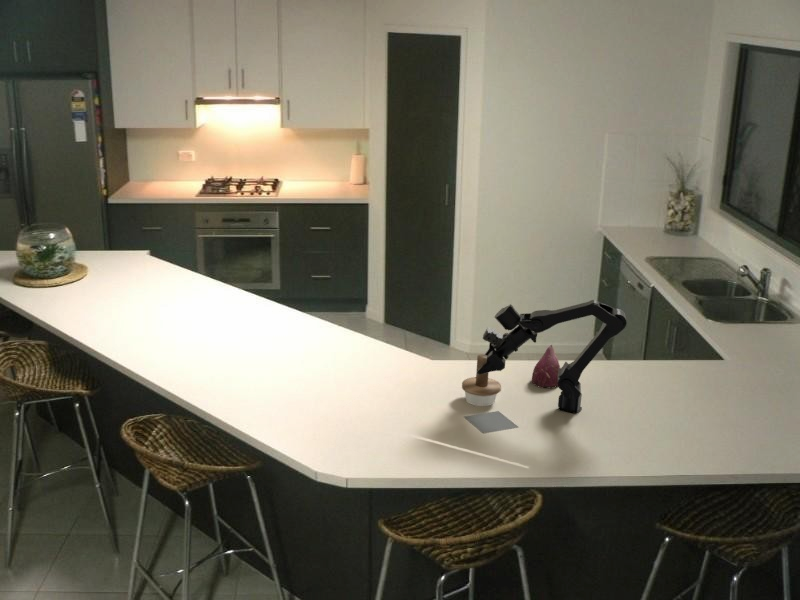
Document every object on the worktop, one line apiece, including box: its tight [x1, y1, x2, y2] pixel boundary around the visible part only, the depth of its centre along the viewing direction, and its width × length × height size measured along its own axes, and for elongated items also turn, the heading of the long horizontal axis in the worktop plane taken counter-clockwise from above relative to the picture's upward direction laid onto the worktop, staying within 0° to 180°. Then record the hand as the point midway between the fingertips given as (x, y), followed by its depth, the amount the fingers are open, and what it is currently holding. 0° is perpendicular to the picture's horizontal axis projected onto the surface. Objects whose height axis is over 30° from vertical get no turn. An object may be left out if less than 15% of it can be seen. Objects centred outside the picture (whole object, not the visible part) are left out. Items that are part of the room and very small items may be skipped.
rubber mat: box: [463, 410, 519, 434], centre depth 322 cm, size 13×13×1 cm
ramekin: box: [464, 391, 498, 407], centre depth 337 cm, size 11×11×5 cm
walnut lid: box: [461, 354, 502, 396], centre depth 334 cm, size 13×13×11 cm
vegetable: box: [531, 344, 561, 388], centre depth 355 cm, size 10×10×15 cm
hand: (479, 367), depth 334 cm, fingers open, 9 cm apart
